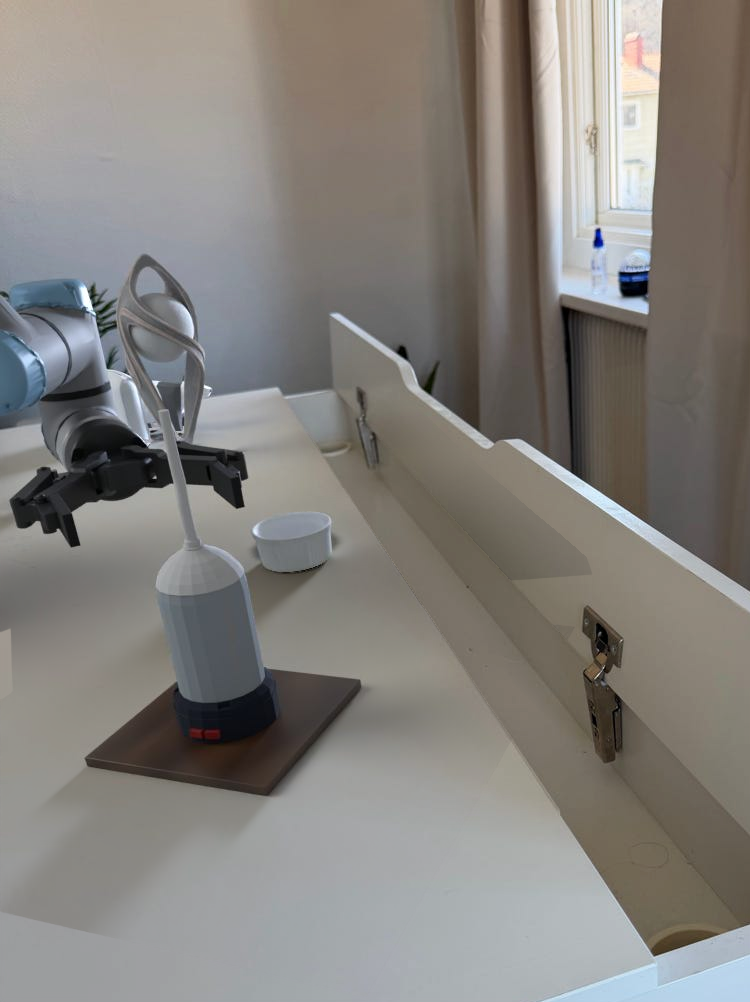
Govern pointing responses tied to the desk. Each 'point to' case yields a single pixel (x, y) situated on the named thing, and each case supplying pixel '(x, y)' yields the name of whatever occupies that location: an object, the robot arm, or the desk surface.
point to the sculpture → (161, 340)
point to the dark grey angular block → (172, 402)
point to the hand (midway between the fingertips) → (157, 511)
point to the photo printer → (128, 403)
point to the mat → (233, 765)
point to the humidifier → (211, 632)
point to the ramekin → (293, 541)
